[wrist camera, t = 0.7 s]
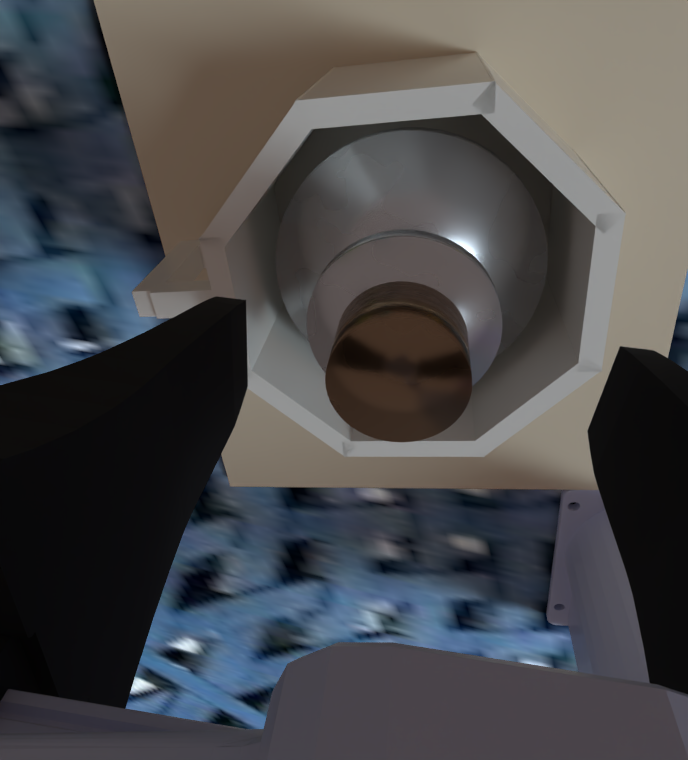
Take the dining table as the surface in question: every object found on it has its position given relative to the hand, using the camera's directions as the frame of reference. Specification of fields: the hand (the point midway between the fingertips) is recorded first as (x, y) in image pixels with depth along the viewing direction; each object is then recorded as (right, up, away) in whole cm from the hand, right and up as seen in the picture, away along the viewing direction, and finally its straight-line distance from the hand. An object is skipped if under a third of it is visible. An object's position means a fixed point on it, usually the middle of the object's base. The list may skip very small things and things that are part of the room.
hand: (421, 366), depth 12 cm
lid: (0, +3, +6) cm, 6 cm away
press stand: (+1, +5, +9) cm, 10 cm away
